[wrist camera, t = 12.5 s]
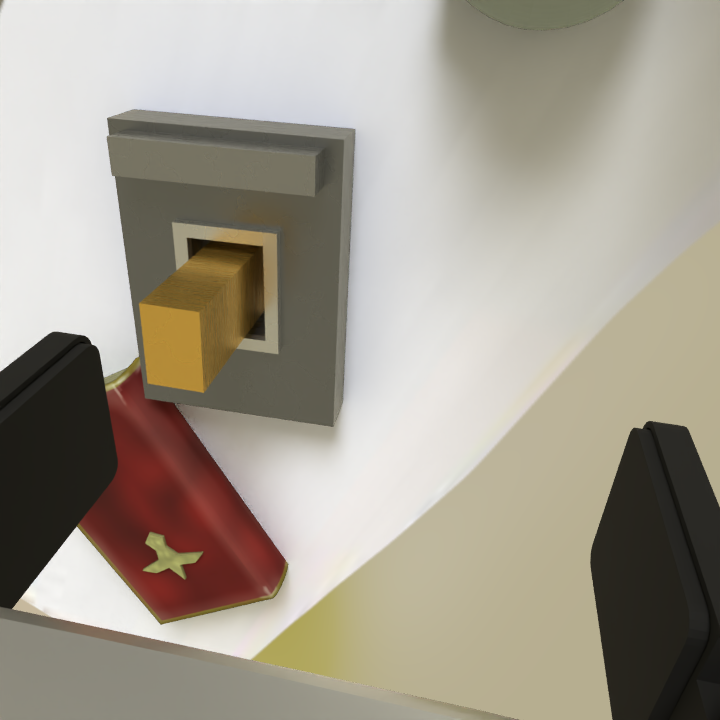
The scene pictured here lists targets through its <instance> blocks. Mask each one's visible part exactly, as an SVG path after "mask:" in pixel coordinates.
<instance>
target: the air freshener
mask: <svg viewBox="0 0 720 720" xmlns="http://www.w3.org/2000/svg"><path fill="white" fill-rule="evenodd" d="M467 1H468V2H469V3H470V4H471V5H472V6H473V7H475V8H476V9H477V10H479V11H480V12H482V13H483V14H485V15H486V16H488V17H490V18H492V19H494V20H496V21H499V22H501V23H503V24H505V25H509V26H513V27H518V28H522V29H529V30H552V29H559V28H567V27H570V26H573V25H577V24H580V23H583V22H586V21H589V20H591V19H593V18H595V17H597V16H599V15H601V14H603V13H605V12H607V11H609V10H611V9H612V8H614V7H615V6H616V5H618V4H619V3H621V2H622V1H624V0H467Z"/></svg>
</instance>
